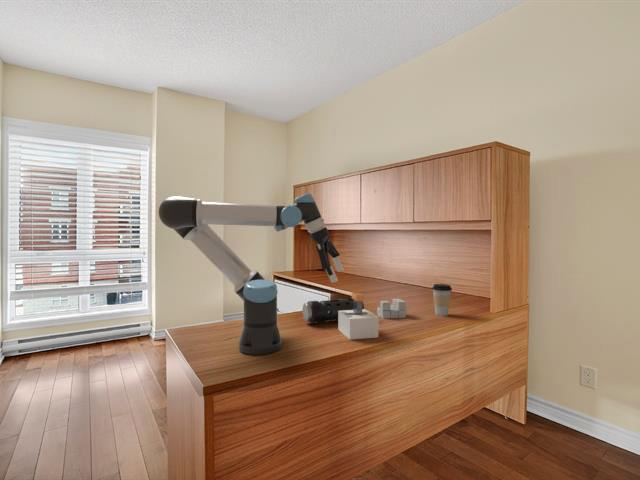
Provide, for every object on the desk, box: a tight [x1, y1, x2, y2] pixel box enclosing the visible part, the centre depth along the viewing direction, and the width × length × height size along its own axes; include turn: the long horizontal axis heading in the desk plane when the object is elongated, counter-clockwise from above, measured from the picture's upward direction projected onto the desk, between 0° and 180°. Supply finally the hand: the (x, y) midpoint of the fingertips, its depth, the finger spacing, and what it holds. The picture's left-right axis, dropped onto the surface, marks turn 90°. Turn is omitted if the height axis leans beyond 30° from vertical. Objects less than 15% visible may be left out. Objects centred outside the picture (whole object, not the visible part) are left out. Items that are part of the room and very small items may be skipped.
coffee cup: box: [431, 283, 453, 317], centre depth 165 cm, size 9×9×15 cm
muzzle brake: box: [301, 298, 365, 324], centre depth 152 cm, size 10×28×10 cm, turn 113°
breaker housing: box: [337, 308, 380, 340], centre depth 134 cm, size 12×14×8 cm
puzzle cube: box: [376, 298, 407, 319], centre depth 164 cm, size 12×12×8 cm
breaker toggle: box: [351, 292, 365, 314], centre depth 134 cm, size 3×6×8 cm, turn 15°
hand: (338, 276), depth 137 cm, fingers open, 13 cm apart
